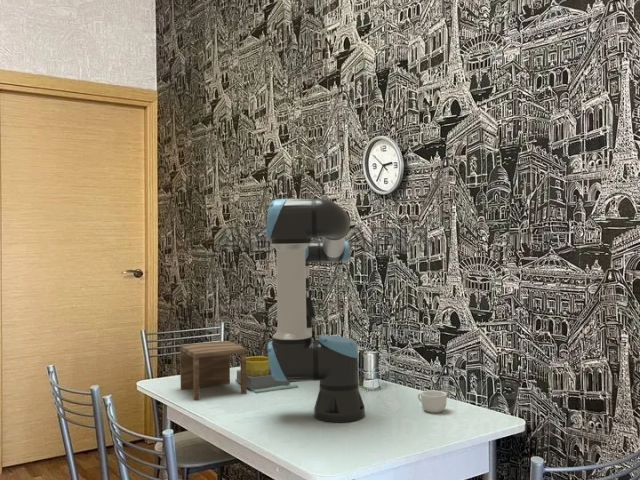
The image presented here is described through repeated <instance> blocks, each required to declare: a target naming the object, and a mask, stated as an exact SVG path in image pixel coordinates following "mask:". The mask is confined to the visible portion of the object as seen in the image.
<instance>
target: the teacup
mask: <svg viewBox="0 0 640 480" xmlns="http://www.w3.org/2000/svg"><path fill="white" fill-rule="evenodd" d="M447 398H448V393H447V392H445V391H442V390H433V389H432V390H431V389H429V390H422V391H421V392H420V393H419V394H418V396H417V399H418V401H419V402H420V403H421V405H422V408H423V409H424V411H425V412H427V413H430V412H431V414H440V413H442V412H443V411H444V410H445V409H446V407H447V403H448V402H447Z"/></svg>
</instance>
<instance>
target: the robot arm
mask: <svg viewBox="0 0 640 480" xmlns="http://www.w3.org/2000/svg"><path fill="white" fill-rule="evenodd" d="M266 218H267V219H266V228H265V229H266V230H265V236H266V237H265V238H266V239H268V240H270V243H271V244H270V245H271V246H272V247H273V248H274V249H275V250H276V293H277V294H276V299H277V300H276V303H277V306H276V309H277V311H276V312H277V314H276V315H277V330H276V332H275V333H274V334H273V335H272V340H271V341H269V342H268V343H267V355H268V356H267V357H268V358H269V365H270V370H271V374H272V377H273V378H274V379H275V380H277V381H287V382H290V383H291V382H308V381H309V382H313V381H314V382H315V381H317V382H319V389H318V395H317V398H316V401H315V404H314V408H313V417H315V419H317V420H319V421H323V422H328V423H349V422H355V421H358V420H362V419H363V418H364V417H365V416H366V408H365V405H364V402H363V398H362V396H361V392H360V388H359V387H360V386H359V358H360V356H359V347H358V344H357V342H356V341H355V340H354V339H352V338H349V337H345V336H340V335H339V336H338V335H329V334H328V335H320V336H319V337H318V340H312V337H313V325H312V324H313V323H312V322H313V321H312V319H313V318H315V317H316V315H315V309H314V305H313V301H312V293H311V290H310V291H307V289H309V288H310V287H311V286H310V282H311V281H310V278H309V277H310V270H311V268H310V263H342V262H344V263H345V262H349V260H350V242H349V241H348V240H346V236H347V235H348V233H349V232H350V227H351V221H350V217H349V215H348V213H347V211H346V210H344V208H342V206H340V205H339V204H338V203H336V202H333V201H332V200H330V199H329V200H328V199H326V198H325V199H324V198H280V199H274V200H272V201H271V202H270V204H269V207H268V212H267V216H266ZM312 238H314V239H315V238H316V239H317V238H319V239H320V238H322V239H321V240H315V241H312V240H311V239H312Z"/></svg>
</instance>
